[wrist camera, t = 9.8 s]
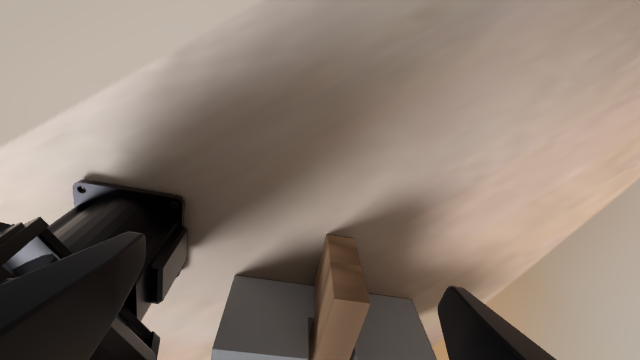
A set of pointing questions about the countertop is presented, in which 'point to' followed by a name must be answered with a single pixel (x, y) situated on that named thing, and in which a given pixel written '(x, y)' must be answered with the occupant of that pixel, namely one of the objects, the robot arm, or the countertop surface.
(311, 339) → the cross plate
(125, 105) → the countertop surface
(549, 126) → the countertop surface
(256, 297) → the base plate
